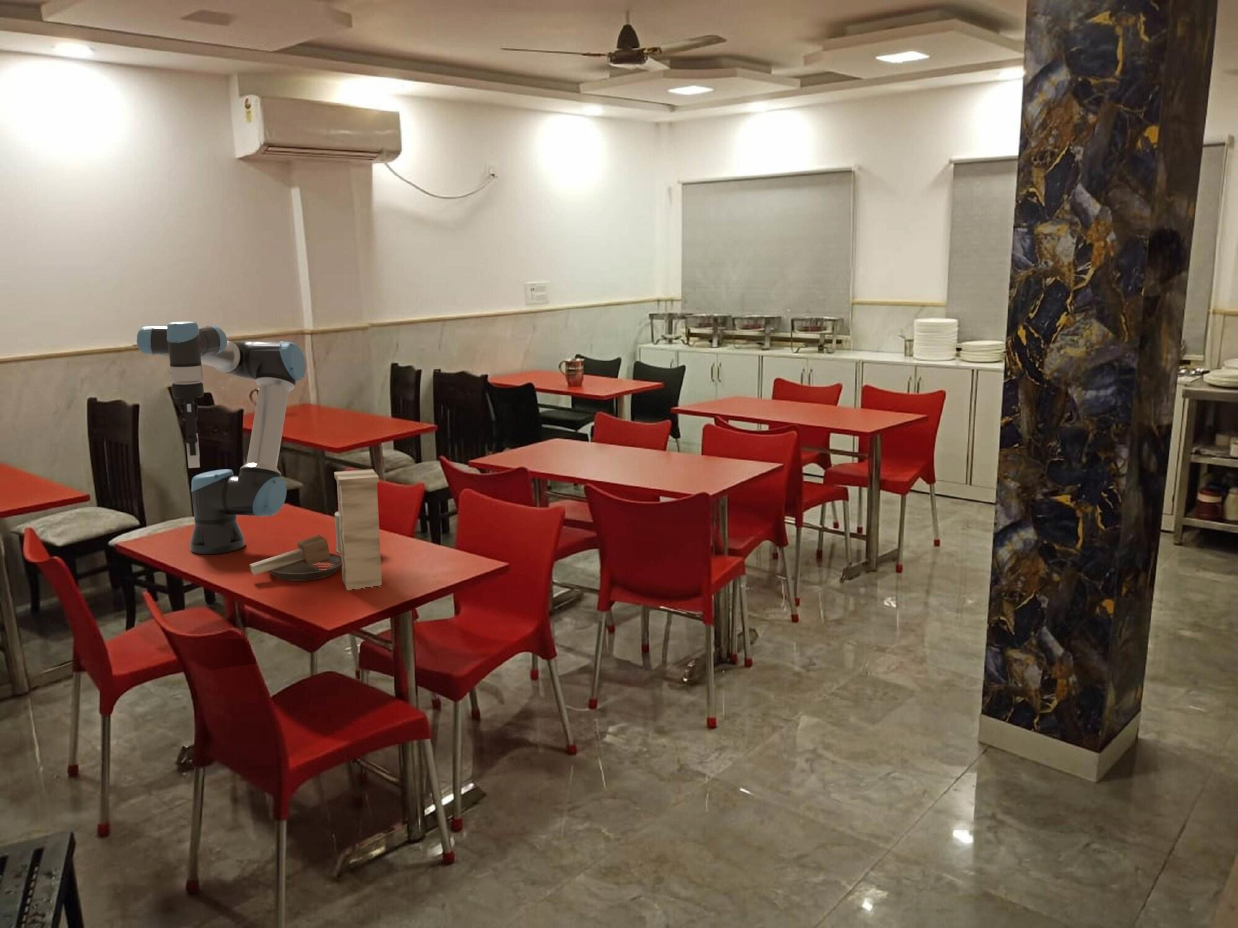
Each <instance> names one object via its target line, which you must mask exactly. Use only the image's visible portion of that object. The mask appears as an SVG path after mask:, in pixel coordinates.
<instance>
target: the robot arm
mask: <svg viewBox="0 0 1238 928" xmlns="http://www.w3.org/2000/svg"><path fill="white" fill-rule="evenodd" d="M136 345H137V348H138V350H140V352H141V353H143V354H144V355H152V356H155V355H160V356H166V357H168V358H169V367H170V369H169V370H167V373H168V374H170V380H171V382H173V383H171V393H172V398H173V399H176V400H177V399H178V400H180V399H183V403H181V404H180V411H181V413H182V421H183V422H185V423H184V424H185V439H183V444H186V455H187V465H188V469H193V468H195V469H196V468H201V465H200V463H201V461H200V457H201V456H200V447H199V436H198V435H199V434H200V432H201V429H200V428H198V425H197V420H198V411H199V410H198V408H199V407H198V403H197V402H196V403H195V399H199V398H203V397H204V395H205V392H204V383H203V382H202V381H203V379H204V377H203V365H206V366H209V367H213V368H214V369H215V370H216V371H218V372H221V373H224V374H228V375H232V376H236V377H239V378H244V379H249V380H254V382H255V384H256V385H257V386H258V393H257V394H258V395H257V399H256V405H255V411H254V417H253V423H252V429H251V434H250V441H249V446H248V447H249V448H248V454H247V460H246V463H245V464H244V465H242V466H241V467H240V469H239V473H238V475H234V471H233V469H224V468H223V469H216V470H210V471H207V472H206V471H205V472H202V473H199V474H196V475H194V476H193V477H192V479H191V490H190V492H191V497H192V507H193V517H194V518H193V519H194V527H193V530H192V534H191V538H190V542H189V543H190V544H189V546H190V551H191V552H193V553H195V554H200V555H217V554H218V555H219V554H225V553H231V552H234V551H237V550H240V549H241V548H244V547H245V544H246V543H245V537H244V534H243V532H242V530H241V528H240V525H239V523H238V520H237V516H247V517H250V516H254V517H259V518H261V517H272V516H275V515H277V514H278V512H279V511H281V509H282V507H283V506H284V504H285V501H286V498H287V492H288V491H287V490H288V489H287V484H286V481H285V480H284V478H282V472H280V470H279V469H278V462H279V457H280V450H281V443H282V436H283V431H284V424H285V418H286V411H287V406H288V399H289V393H290V392H292V391H293V390H295V388H296V382H299V381H301V380H303V379H304V377H305V375H306V369H307V368H306V359H305V356H304V353H303V350H302V349H301V347H300V346H299V345H298V344H297V343H296V342H291V341H284V340H282V341H267V340H266V341H263V340H261V341H260V340H259V341H257V340H256V341H255V340H248V341H247V340H246V341H245V340H244V341H231V340H228V338H227V335H226V333H225V331H224V330H223V329H222V328H220V327H218V326H212V325H211V326H209V325H206V326H199V325H198V323H197V322H195V321H175V322H174V321H173V322H169V323H167V325H166V326H158V325H157V326H155V325H151V326H143V327H141V328H140V329H139V330H138V331H137V334H136Z"/></svg>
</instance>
